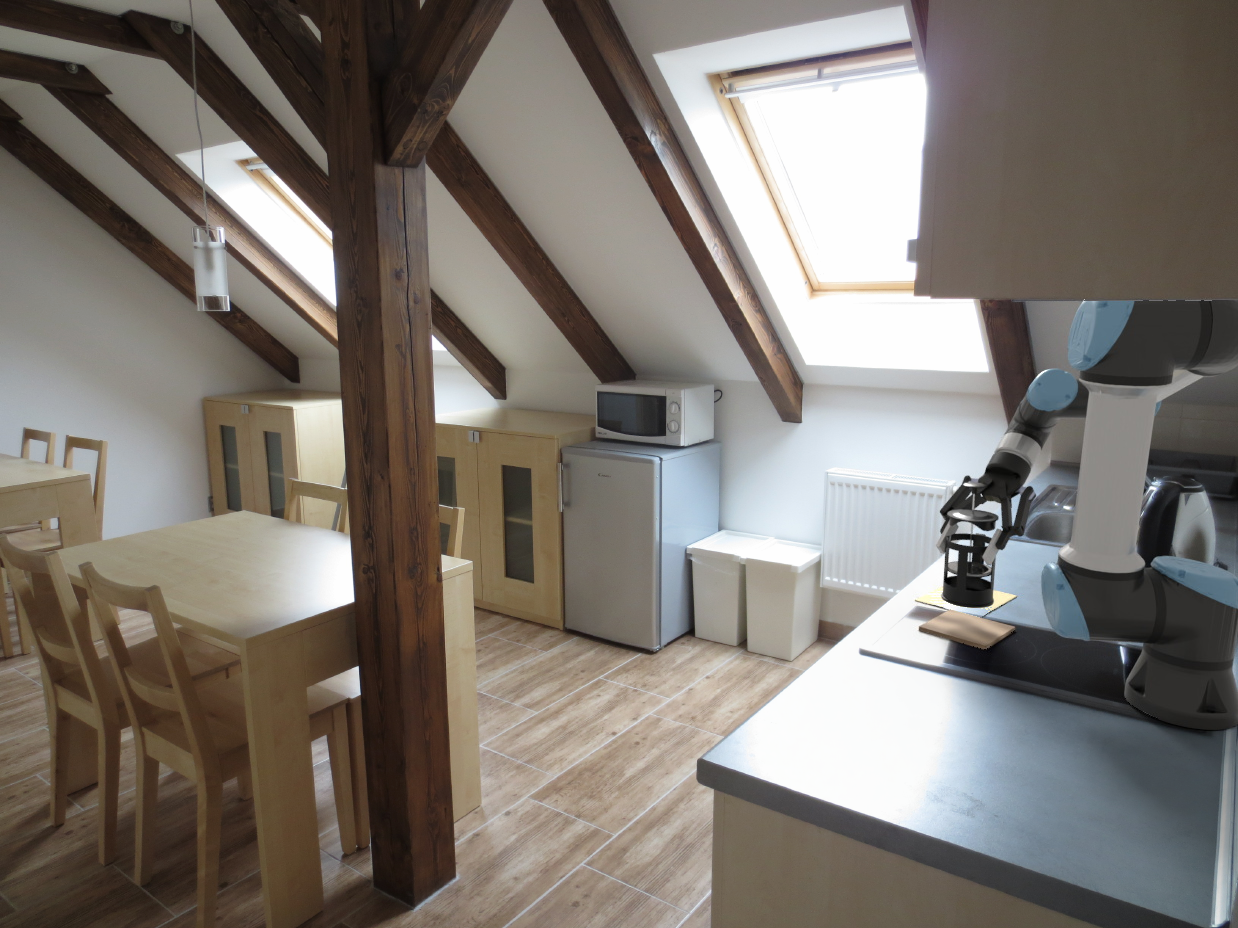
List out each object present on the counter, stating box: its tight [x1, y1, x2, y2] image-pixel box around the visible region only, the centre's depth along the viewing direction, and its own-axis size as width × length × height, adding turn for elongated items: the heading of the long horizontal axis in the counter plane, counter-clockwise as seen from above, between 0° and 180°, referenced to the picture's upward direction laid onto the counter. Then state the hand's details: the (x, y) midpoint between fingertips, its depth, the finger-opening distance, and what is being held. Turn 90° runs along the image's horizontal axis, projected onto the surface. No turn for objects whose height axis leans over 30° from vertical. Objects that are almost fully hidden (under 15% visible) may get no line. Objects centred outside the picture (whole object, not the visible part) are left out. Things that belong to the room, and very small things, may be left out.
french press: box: [941, 482, 999, 608], centre depth 158 cm, size 12×9×23 cm
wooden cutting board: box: [918, 609, 1016, 650], centre depth 160 cm, size 13×13×1 cm
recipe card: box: [914, 585, 1018, 613], centre depth 178 cm, size 18×14×1 cm
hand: (962, 555), depth 156 cm, fingers closed on french press, 9 cm apart
